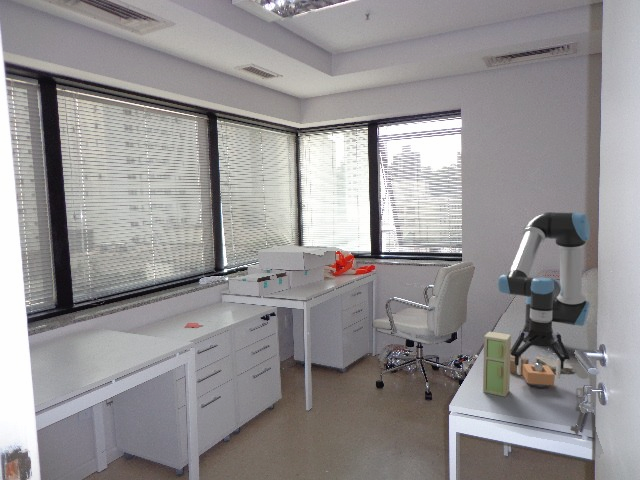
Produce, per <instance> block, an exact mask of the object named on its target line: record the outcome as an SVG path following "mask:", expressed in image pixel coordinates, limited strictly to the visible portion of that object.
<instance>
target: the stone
mask: <svg viewBox="0 0 640 480" xmlns="http://www.w3.org/2000/svg"><path fill="white" fill-rule="evenodd" d="M534 358H535V359H536V361H537V363H541V364H542V365H547V366H549V367H550V369H551V370H552V372H553V373H554V374H556V362H557V360H554V359H552V358H551V359H550V358H548V357H544V356H543V357H542V356H539V355H535V356H534ZM573 372H574V368H573V367H572V366H570V365H569V364H567V363H565V362H564V367H563V369H560V374H561V373H563V374H569V373H570V374H572V373H573Z"/></svg>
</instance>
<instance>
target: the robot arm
mask: <svg viewBox="0 0 640 480" xmlns="http://www.w3.org/2000/svg"><path fill="white" fill-rule="evenodd" d="M521 237H522V239H521V241H520V244H519V247H518V248H517V251H516V253H515V256H514V258H513V261H512V263H511V266H510V269H509V271H508V273H507V274H502V275H500V276H499V278H498V282H497V288H498V291H499V292H500V293H501V294H506V295H513V296H522V297H526V301H525V321H524V325H523V328H522V330H520V331H519V335H518V337H517V339H516V340H515V342H514V343H513V345H512V346H511V351H510V356H515V365H517V373H518V374H517V375H519V376H522V375H521V357H522V355H523V354H524V353H525V352H526V351H527V350H529V348H530V347H532V346H533V345H536V346H548V347H549V348H550V349H551V350H552V352H554V354H555V355H556V356H557V357H558V358H556V361H557V362H556V373H555V376H556V378H557V379H561V373H560V369H563V367H564V363H565V360H570V358H571V357H570V356H569V353H568V351H567V349H566V348H565V347H566V346H565V345H564V343H563V341H562V336H561V334H560V333H559V332H556V333H554V330H553V323H559V324H565V325H571V326H578V327H580V326H581V327H583V326H585V324H586V322H587V319H588V316H589V311H590V305H591V303H590V302H589V301H588V300H586V299H587V298H586V296H585V295H584V294H583V290H582V286H583V285H582V284H583V283H582V282H583V281H582V275H583V274H582V273H583V272H582V271H583V269H582V266H583V265H582V264H583V263H582V262H583V261H582V259H583V256H582V254H583V253H582V247H583V246H585V245H586V244H587V243H586V242H587V241H589V240H590V237H591V225H590V220H589V217H588V216H587V214H585V213H582V212H581V213H579V212H551V211H550V212H549V211H547V212H544V213H540V214H538V215H536V216H535V217H533V218H532V219H531V220H529V221H528V222H527V224H526V225H525V226H524V228H523V230H522V232H521ZM546 239H551V240H553V239H554V240H555V244H556V246H557V247H559V280H557V279H556V278H553V277H552V278H551V277H529V276H530V272H531V270H532V267H533V265H534V262H535V260H536V257H537V254H538V252H539V249H540V246H541V244H542V243H544V242H545V240H546ZM522 342H525V343H523V345H522ZM555 343H557V344H558V347H559V349H560V350H561V352H562V354H561V353H560V352H559V350H558V349H557V348H556V347H555V346H554V344H555ZM520 346H521V347H520ZM518 348H520V349H519V350H518V351H517V349H518ZM520 356H521V357H520Z"/></svg>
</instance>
